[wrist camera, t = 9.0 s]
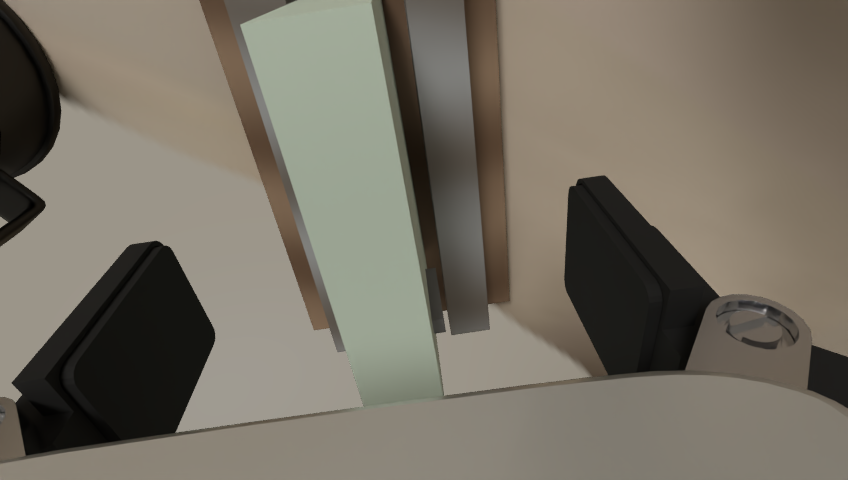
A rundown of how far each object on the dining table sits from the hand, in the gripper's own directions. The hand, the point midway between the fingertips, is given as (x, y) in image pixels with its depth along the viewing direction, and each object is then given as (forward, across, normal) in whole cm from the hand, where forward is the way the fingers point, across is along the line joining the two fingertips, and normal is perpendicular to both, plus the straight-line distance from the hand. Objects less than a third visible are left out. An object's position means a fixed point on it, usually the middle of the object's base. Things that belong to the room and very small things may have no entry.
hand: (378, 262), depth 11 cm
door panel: (+10, 0, +1) cm, 11 cm away
